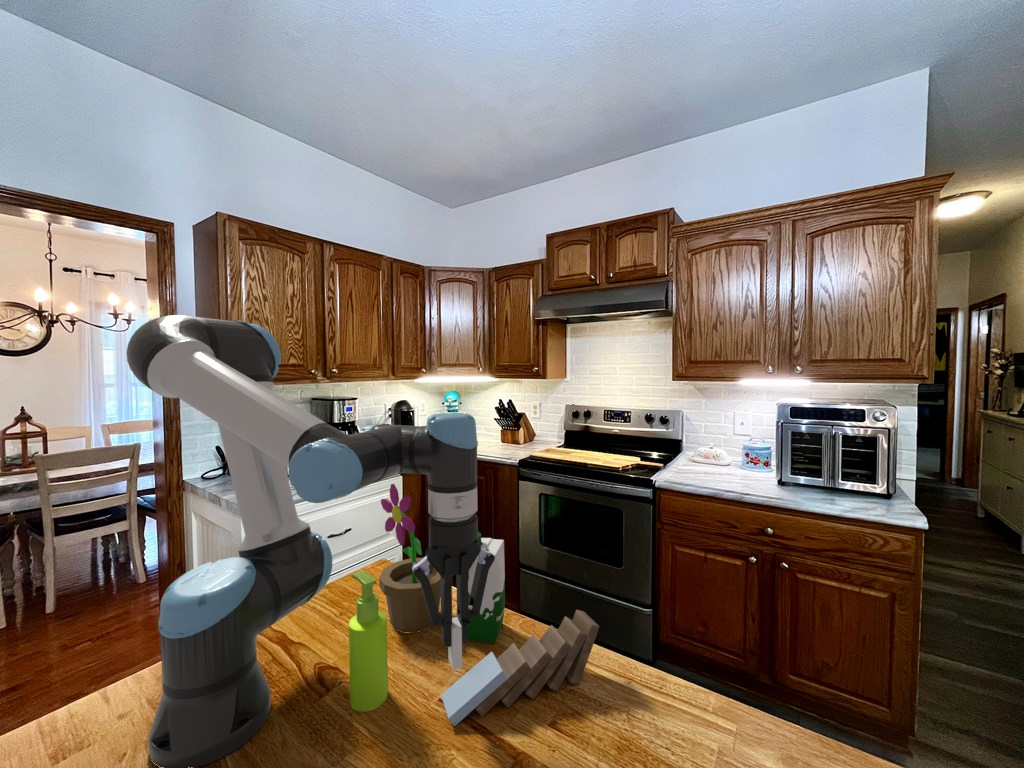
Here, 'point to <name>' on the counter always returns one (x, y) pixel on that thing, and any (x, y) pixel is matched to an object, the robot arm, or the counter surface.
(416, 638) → the counter surface
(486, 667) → the domino
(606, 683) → the counter surface
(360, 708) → the soap dispenser
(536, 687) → the domino
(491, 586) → the milk carton
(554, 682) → the domino
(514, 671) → the domino
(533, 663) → the domino
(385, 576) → the flowerpot
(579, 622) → the domino
